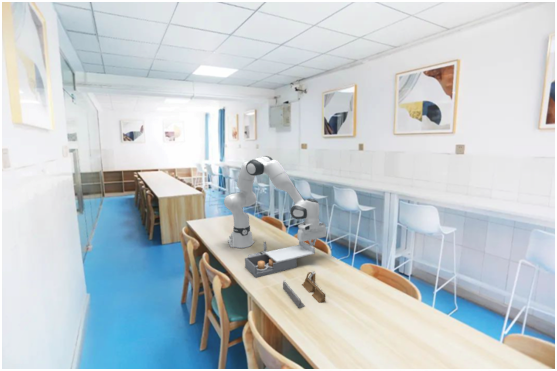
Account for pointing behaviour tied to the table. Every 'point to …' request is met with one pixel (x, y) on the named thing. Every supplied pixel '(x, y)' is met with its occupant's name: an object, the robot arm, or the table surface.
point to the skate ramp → (309, 286)
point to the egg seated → (271, 262)
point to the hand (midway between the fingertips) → (312, 245)
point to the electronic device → (260, 252)
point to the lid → (291, 252)
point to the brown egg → (261, 265)
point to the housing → (267, 265)
